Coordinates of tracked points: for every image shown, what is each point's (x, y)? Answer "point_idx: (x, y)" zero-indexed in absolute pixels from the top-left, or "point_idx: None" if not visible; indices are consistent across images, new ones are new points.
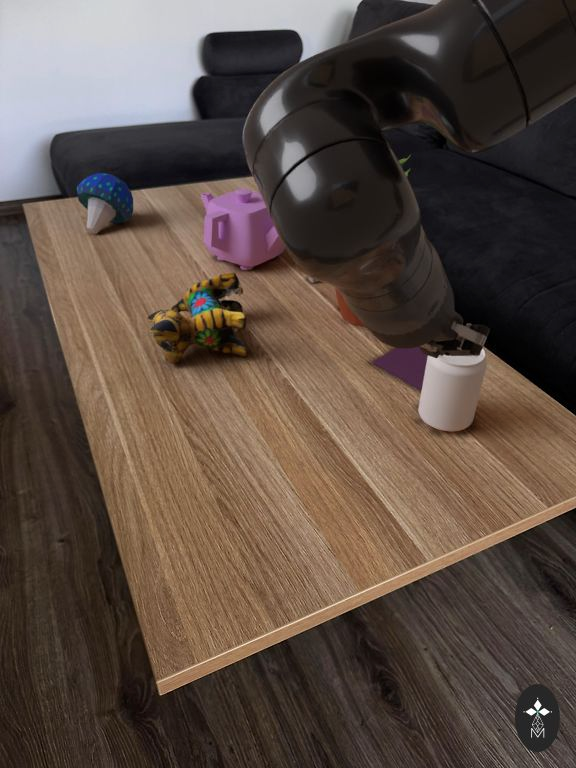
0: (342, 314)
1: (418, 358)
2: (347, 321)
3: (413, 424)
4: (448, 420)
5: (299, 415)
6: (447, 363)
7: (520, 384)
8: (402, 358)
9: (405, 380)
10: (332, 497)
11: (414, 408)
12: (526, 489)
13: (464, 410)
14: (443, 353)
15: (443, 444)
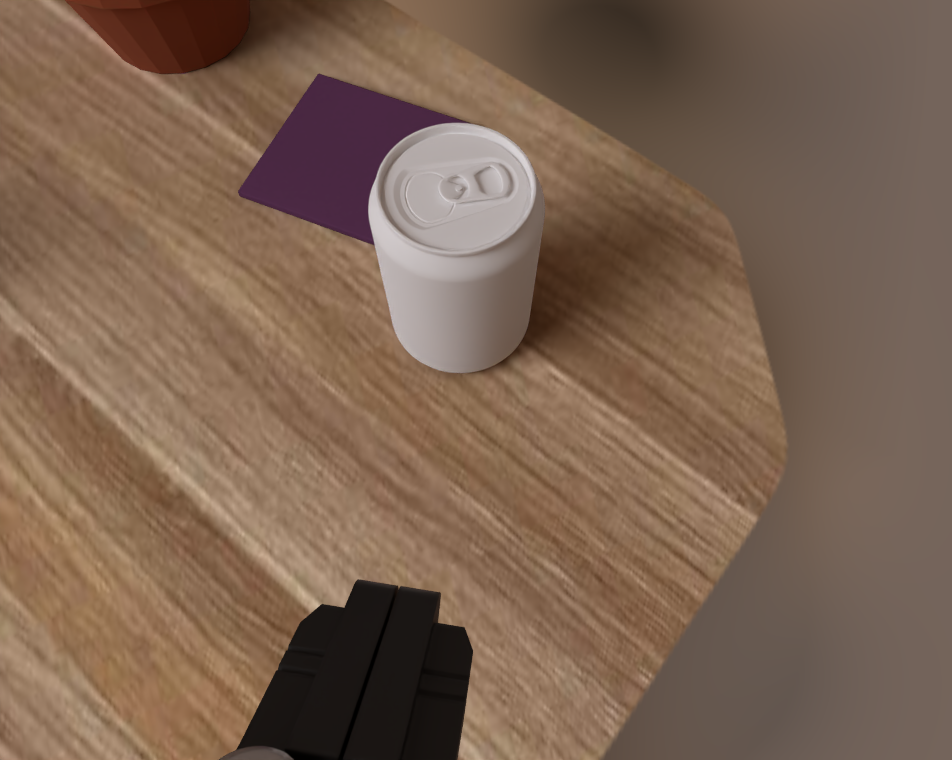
0: (115, 51)
1: (348, 141)
2: (137, 67)
3: (393, 373)
4: (477, 356)
5: (92, 462)
6: (436, 254)
7: (600, 140)
8: (309, 155)
9: (335, 229)
10: None
11: (382, 315)
12: (701, 481)
13: (511, 325)
14: (462, 726)
15: (481, 412)
